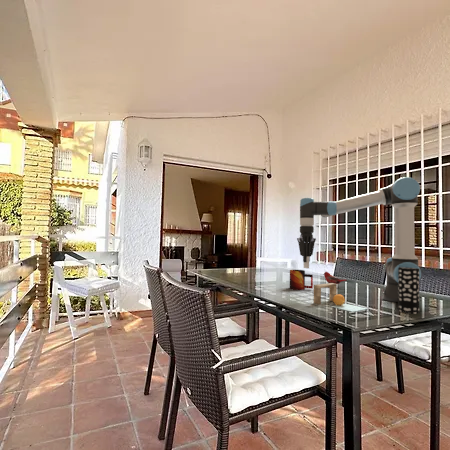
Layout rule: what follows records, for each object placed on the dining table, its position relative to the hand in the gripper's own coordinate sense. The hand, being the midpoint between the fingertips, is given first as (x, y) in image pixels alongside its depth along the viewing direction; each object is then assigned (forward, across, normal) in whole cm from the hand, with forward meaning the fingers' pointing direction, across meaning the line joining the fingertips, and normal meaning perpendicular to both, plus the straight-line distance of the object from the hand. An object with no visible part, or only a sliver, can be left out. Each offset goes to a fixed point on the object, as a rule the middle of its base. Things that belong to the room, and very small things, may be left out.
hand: (306, 268), depth 169 cm
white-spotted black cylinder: (+17, -19, +45) cm, 52 cm away
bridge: (+16, 0, +13) cm, 21 cm away
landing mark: (+16, 0, +27) cm, 32 cm away
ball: (+14, 0, +21) cm, 25 cm away
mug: (+17, -19, -22) cm, 34 cm away
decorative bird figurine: (+17, -46, -16) cm, 51 cm away
